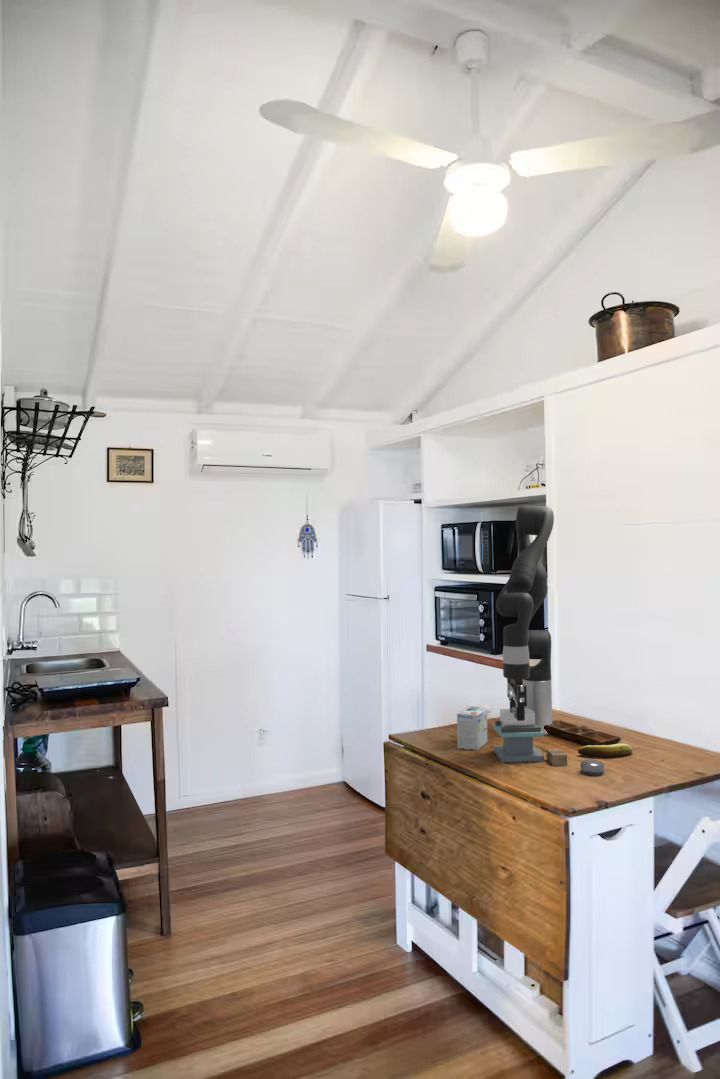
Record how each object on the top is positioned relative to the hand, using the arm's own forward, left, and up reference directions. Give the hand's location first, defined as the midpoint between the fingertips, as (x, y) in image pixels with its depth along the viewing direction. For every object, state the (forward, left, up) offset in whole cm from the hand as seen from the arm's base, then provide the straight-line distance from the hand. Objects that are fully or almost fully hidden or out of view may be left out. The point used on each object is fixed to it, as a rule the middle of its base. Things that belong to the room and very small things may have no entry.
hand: (517, 717), depth 214 cm
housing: (0, 0, -3) cm, 3 cm away
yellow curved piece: (0, +26, -12) cm, 29 cm away
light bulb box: (-13, -11, -12) cm, 21 cm away
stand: (0, 0, -11) cm, 11 cm away
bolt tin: (+17, +16, -11) cm, 26 cm away
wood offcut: (+7, +9, -11) cm, 16 cm away
